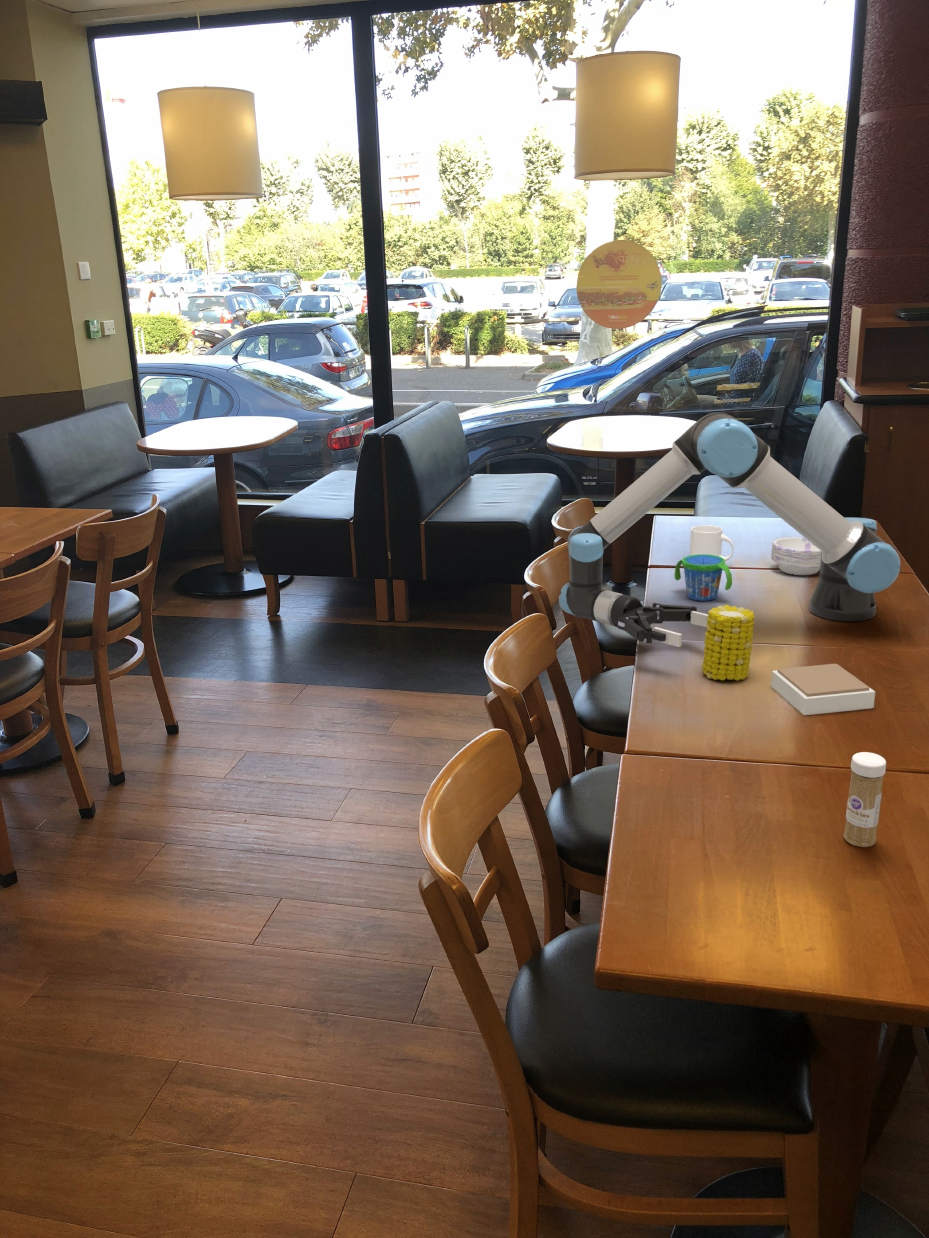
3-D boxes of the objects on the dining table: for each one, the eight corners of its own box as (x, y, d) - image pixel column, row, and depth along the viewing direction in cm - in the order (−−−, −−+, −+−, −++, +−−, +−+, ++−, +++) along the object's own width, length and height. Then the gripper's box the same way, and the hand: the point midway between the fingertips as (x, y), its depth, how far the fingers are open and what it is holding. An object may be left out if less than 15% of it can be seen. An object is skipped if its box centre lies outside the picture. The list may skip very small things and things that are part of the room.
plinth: (836, 679, 197) (837, 661, 196) (873, 708, 184) (875, 688, 183) (770, 686, 195) (772, 668, 194) (803, 715, 182) (805, 695, 181)
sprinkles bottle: (838, 841, 142) (847, 759, 138) (849, 828, 145) (858, 747, 141) (870, 852, 139) (880, 768, 135) (881, 838, 143) (891, 756, 138)
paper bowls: (834, 567, 270) (836, 539, 267) (820, 581, 258) (823, 553, 255) (778, 560, 278) (780, 533, 275) (763, 574, 266) (765, 546, 263)
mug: (729, 572, 269) (731, 534, 266) (686, 568, 274) (687, 531, 271) (735, 563, 277) (737, 527, 273) (693, 560, 282) (695, 524, 278)
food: (695, 684, 202) (721, 672, 208) (745, 686, 193) (771, 673, 200) (685, 612, 200) (712, 602, 206) (735, 611, 191) (762, 601, 198)
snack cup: (664, 595, 252) (665, 557, 249) (690, 586, 258) (691, 549, 255) (714, 609, 241) (716, 569, 237) (739, 599, 247) (742, 561, 243)
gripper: (652, 612, 228) (731, 633, 213) (583, 641, 212) (663, 665, 197) (652, 582, 225) (733, 600, 210) (583, 608, 209) (664, 630, 195)
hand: (699, 632), depth 204 cm, fingers open, 13 cm apart
